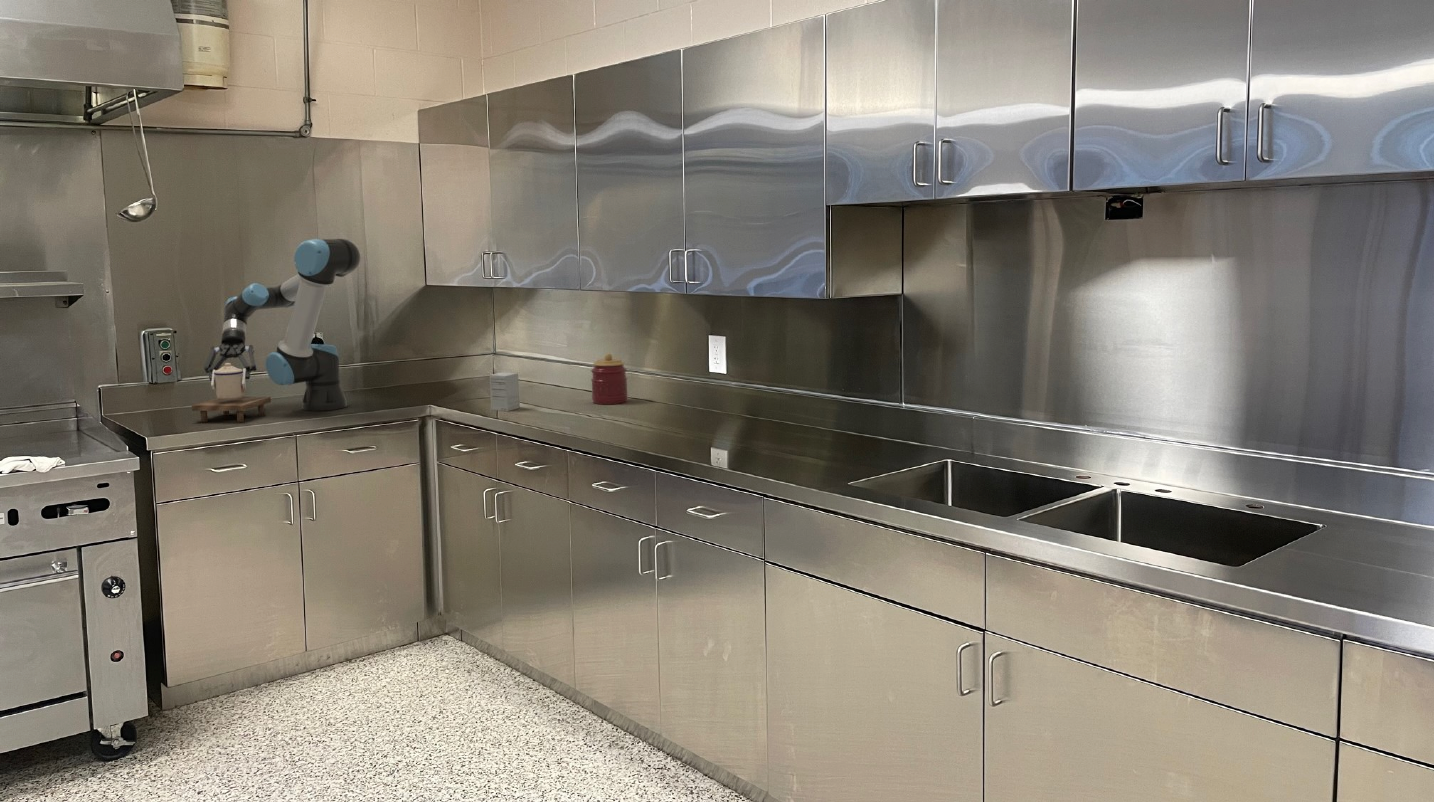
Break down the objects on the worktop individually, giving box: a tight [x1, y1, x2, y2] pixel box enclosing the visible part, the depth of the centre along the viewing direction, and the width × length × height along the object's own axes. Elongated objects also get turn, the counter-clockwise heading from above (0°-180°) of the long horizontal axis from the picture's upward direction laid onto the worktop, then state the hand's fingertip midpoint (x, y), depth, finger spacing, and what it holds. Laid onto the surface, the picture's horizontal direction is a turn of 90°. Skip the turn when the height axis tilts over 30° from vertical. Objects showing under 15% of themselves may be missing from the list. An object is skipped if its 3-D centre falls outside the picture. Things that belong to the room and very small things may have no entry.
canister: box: [590, 353, 629, 405], centre depth 384 cm, size 13×13×18 cm
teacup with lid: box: [214, 362, 245, 399], centre depth 363 cm, size 12×9×12 cm
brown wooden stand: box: [191, 396, 272, 423], centre depth 365 cm, size 18×18×6 cm
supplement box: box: [489, 371, 521, 412], centre depth 373 cm, size 7×7×13 cm
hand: (228, 386), depth 360 cm, fingers closed on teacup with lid, 9 cm apart
